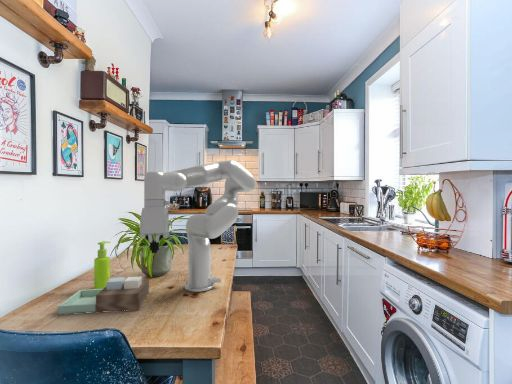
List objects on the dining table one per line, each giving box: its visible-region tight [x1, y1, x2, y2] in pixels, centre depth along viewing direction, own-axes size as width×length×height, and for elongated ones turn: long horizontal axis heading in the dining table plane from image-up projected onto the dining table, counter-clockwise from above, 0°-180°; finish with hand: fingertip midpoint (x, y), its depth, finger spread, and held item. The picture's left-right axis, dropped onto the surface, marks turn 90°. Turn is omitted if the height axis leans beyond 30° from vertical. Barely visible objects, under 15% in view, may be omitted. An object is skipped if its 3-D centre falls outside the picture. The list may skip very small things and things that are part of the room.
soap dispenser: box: [93, 240, 111, 289], centre depth 123 cm, size 6×7×20 cm
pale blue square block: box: [107, 276, 126, 290], centre depth 106 cm, size 5×5×3 cm
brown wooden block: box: [96, 278, 150, 313], centre depth 107 cm, size 14×16×6 cm
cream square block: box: [124, 276, 143, 289], centre depth 107 cm, size 5×5×3 cm
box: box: [57, 288, 103, 316], centre depth 105 cm, size 12×16×3 cm
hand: (154, 252), depth 108 cm, fingers closed
